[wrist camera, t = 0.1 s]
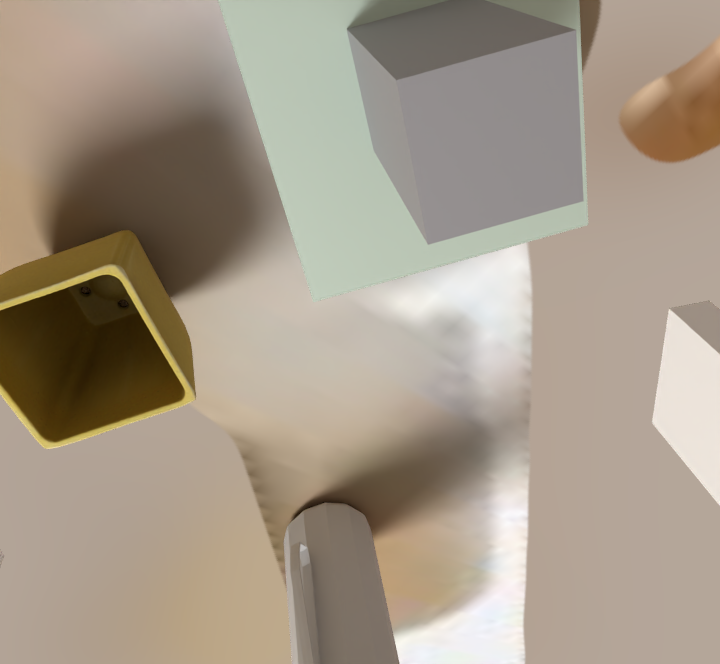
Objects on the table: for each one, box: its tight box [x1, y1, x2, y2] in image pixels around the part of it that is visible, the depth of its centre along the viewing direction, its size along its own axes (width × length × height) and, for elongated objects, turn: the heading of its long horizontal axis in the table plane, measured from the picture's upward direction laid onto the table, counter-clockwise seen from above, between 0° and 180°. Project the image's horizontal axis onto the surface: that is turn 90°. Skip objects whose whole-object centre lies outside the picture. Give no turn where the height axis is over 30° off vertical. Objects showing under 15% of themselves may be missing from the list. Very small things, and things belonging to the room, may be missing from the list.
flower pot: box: [0, 230, 196, 449], centre depth 36 cm, size 9×9×9 cm
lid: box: [218, 0, 588, 302], centre depth 24 cm, size 18×14×12 cm
